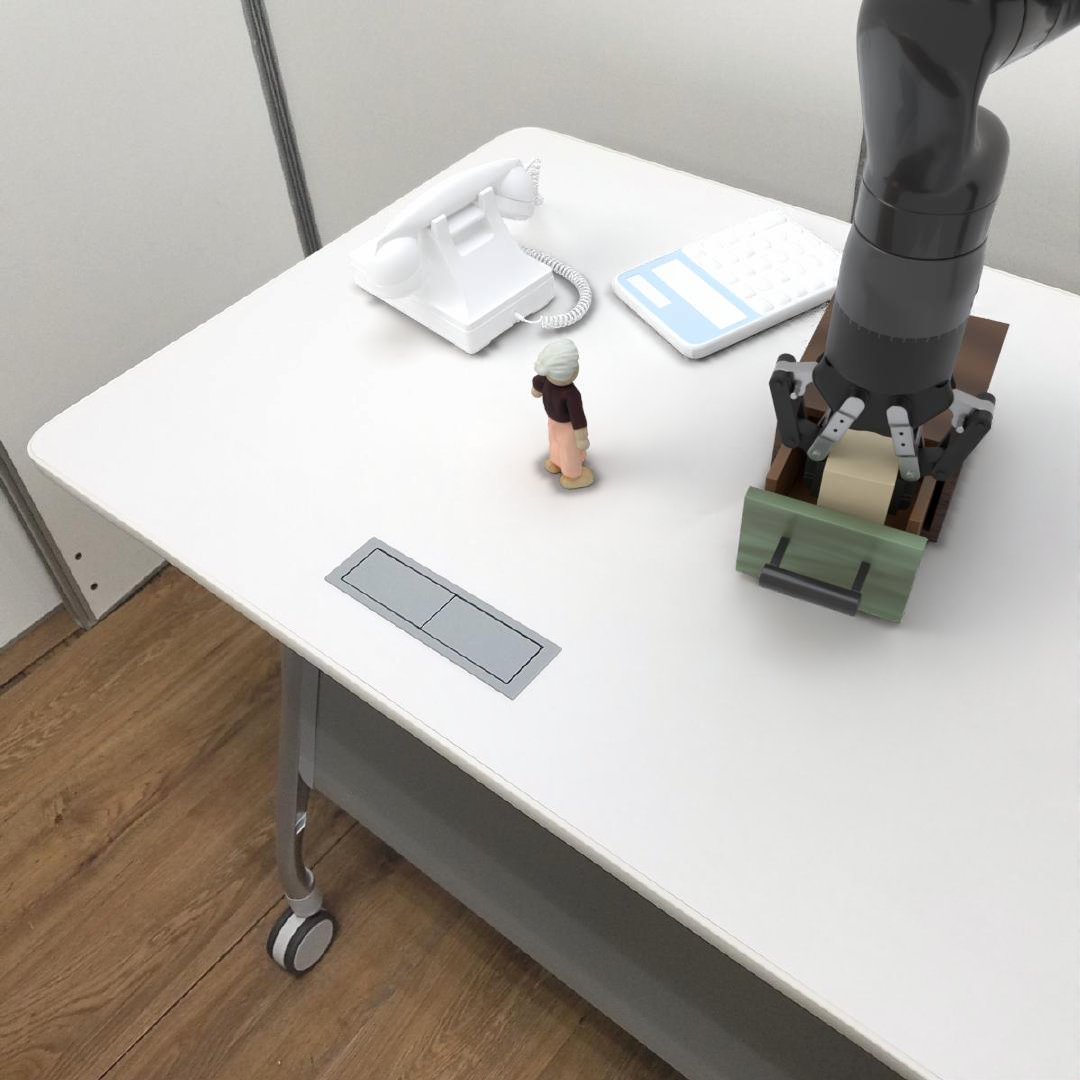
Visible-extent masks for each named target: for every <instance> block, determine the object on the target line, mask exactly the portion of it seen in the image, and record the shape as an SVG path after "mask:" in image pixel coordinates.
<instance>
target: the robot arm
mask: <svg viewBox="0 0 1080 1080" xmlns="http://www.w3.org/2000/svg"><path fill="white" fill-rule="evenodd" d="M1079 26H1080V0H862V1H861V3H860V7H859V11H858V17H857V22H856V35H855V41H856V44H855V45H856V59H857V71H858V82H859V91H860V103H861V116H862V124H863V131H864V138H865V146H866V154H865V158H864V162H863V167H862V170H861V177H860V182H859V188H858V193H857V198H856V204H855V209H854V215H853V219H852V223H851V226H850V229H849V232H848V234H847V237H846V239H845V240H846V241H845V243H844V245H843V246H844V247H843V251H842V253H841V254H842V259H841V264H840V270H839V276H838V282H837V287H836V292H835V298H834V303H833V309H832V314H831V320H830V326H829V331H828V337H827V342H826V348H825V350H824V352H823V353H822V354H820V355H819V357H818V358H817V360H816V362H799V361H797V359H796V357H795V356H794V355H793V354H790V353H786V352H784V353H781V354H779V355H778V357H777V360H776V362H775V364H774V368H773V370H772V373H771V375H770V378H769V381H768V386H769V391H770V395H771V400H772V404H773V409H774V413H775V418H776V424H777V423H778V427H779V431H780V436H781V440H782V443H783V445H784V446H786V447H788V448H796V447H799V448H801V449H803V450H804V451H805V452H806V454H807V462H806V467H805V472H804V478H803V484H804V487H805V488H808V489H812V490H811V495H810V497H814V498H818V497H819V492H820V487H821V482H822V478H823V473H824V468H825V465H826V462H827V458H828V455H829V452H830V451H831V449H832V448H833V446H834V445H835V444H838V442H839V441H840V440H841V438H842V437H843V436H844V434H845V433H846V431H847V430H848V429H852V430H856V431H872V432H874V433H877V434H879V435H882V436H885V437H890V438H892V441H893V447H894V453H895V456H896V457H898V463H899V469H898V474H897V478H896V482H895V486H894V490H893V493H892V497H891V500H890V504H889V508H888V511H887V514H888V515H893V516H896V513H897V510H898V509H900V510H904V511H905V510H906V509H907V508H908V507H910V504H911V500H912V497H913V493H914V490H915V487H916V483H917V481H918V479H919V478H921V477H923V476H932V477H933V478H934V479H935V480H938V481H946V480H948V479H949V478H950V477H951V476H952V475H953V473H954V472H955V471H956V470H957V469H958V467H959V466H960V465H961V464H962V463H963V461H964V462H965V460H966V459H968V457H969V456H970V454H972V452H973V451H974V449H976V447H977V446H978V445H979V444H980V442H981V441H982V440H983V439H984V438H985V436H986V435H987V434H988V433H989V432H990V430H991V429H992V424H993V420H994V415H995V409H996V403H997V402H996V401H997V399H996V396H995V395H994V394H992V393H990V392H988V391H987V392H983V393H979V394H978V395H977V396H976V397H974V396H972V395H970V394H967V393H965V392H963V391H960V390H958V389H956V382H955V379H954V377H953V369H954V366H955V362H956V359H957V356H958V352H959V349H960V346H961V342H962V339H963V336H964V332H965V329H966V325H967V322H968V319H969V315H971V312H972V308H973V305H974V301H975V298H976V296H977V294H978V292H979V288H980V282H981V278H982V274H983V270H984V265H985V260H986V259H985V256H986V248H987V244H988V243H987V242H988V239H989V234H990V231H991V227H992V223H993V220H994V217H995V213H996V210H997V207H998V203H999V199H1000V197H1001V193H1002V190H1003V186H1004V183H1005V180H1006V179H1005V178H1006V175H1007V170H1008V168H1009V167H1008V166H1009V161H1010V157H1011V156H1010V154H1011V140H1010V135H1009V132H1008V129H1007V127H1006V125H1005V124H1004V123H1003V121H1002V120H1001V119H1000V117H999V116H998V115H997V114H996V113H994V112H993V111H992V110H990V109H988V108H986V107H984V106H983V105H981V104H979V103H980V98H981V95H982V92H983V89H984V87H985V85H986V82H987V80H988V79H989V76H990V75H992V74H994V73H996V72H998V71H1000V70H1002V69H1004V68H1006V67H1008V66H1009V65H1012V64H1014V63H1015V62H1017V61H1020V60H1021V59H1023V58H1025V57H1026V56H1028V55H1029V56H1030V55H1031V54H1032V53H1034V52H1037V51H1038V50H1040V49H1042V48H1044V47H1047V45H1049V44H1051V43H1053V42H1054V41H1056V40H1058V39H1059V38H1062V37H1063V36H1064V35H1066V34H1068V33H1070V32H1071V31H1073V30H1075V29H1076V28H1077V27H1079ZM811 382H813V383H814V384H815V386H816V388H817V389H818V391H819V392H820V394H821V395H822V397H823V398H824V400H825V401H826V403H827V404H828V406H829V407H828V409H827V411H826V413H825V414H824V416H823V417H822V418H821V420H820V421H819V423H818V424H817V425H816V424H814V423H812V422H810V421H808V417H807V412H806V407H805V402H804V397H803V395H804V393H805V391H806V389H807V386H808V384H809V383H811ZM947 409H949V410H950V411H951V412H952V413H953V415H952V419H951V424H952V427H951V429H950V430H949V431H948V432H947V434H946V435H945V436H944V437H943V439H942V440H941V441H940V442H939V444H938V445H937V447H925V443H924V436H923V424H924V423H926V422H928V421H929V420H931V419H933V418H934V417H936V416H937V415H939V414H941V413H942V412H944V411H946V410H947ZM963 464H964V463H963Z"/></svg>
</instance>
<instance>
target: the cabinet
mask: <svg viewBox="0 0 1080 1080" xmlns="http://www.w3.org/2000/svg"><path fill="white" fill-rule="evenodd" d="M835 292H836V290H835ZM835 292H834V294H833V296H832V298H831V300H829V301H828V304H827V306H826V308H825V310H824V312H823V314H822V315H821V318H820V320H819V322H818V323H817V326H816V328H815V330H814V331H813V334H812V336H811V338H810V340H809V342H808V344H807V345H806V348H805V350H804V352H803V353H802V356H801V358H800V359H799V361H798V362H816V360H817V358H818V357H819V355H820V354H822V353H823V352H824V350H825V348H826V342H827V337H828V331H829V326H830V320H831V314H832V309H833V303H834V298H835ZM1009 328H1010V323H1007V322H1003V321H998V320H994V319H990V318H986V317H981V316H976V315H973V314H970V315H969V319H968V322H967V325H966V329H965V332H964V336H963V339H962V342H961V346H960V349H959V352H958V356H957V359H956V362H955V366H954V369H953V377H954V379H955V382H956V389H958V390H960V391H963V392H965V393H967V394H970V395H972V396H974V397H976V396H977V395H978V394H979V393H983V392H987V393H988V391H989V388H990V386H991V382H992V379H993V376H994V373H995V370H996V367H997V364H998V361H999V358H1000V354H1001V352H1002V349H1003V346H1004V343H1005V340H1006V336H1007V334H1008V331H1009ZM803 397H804V402H805V407H806V412H807V415H809V416H813V417H816V418H820V419H821V418H822V417H823V416H824V414H825V413H826V411H827V409H828V407H829V406H828V404H827V403H826V401H825V400H824V398H823V397H822V395H821V394H820V392H819V391H818V389H817V388H816V386H815V384H814V383H813V382H811V383H809V384H808V386H807V389H806V391H805V393H804V395H803ZM952 415H953V413H952V412H951V411H950V410H949V409H947V410H946V411H944V412H942V413H941V414H939V415H937V416H936V417H934V418H933V419H931V420H929V421H928V422H926V423H924V424H923V436H924V443H925V447H937V445H938V444H939V442H940V441H941V440H942V439H943V437H944V436H945V435H946V434H947V432H948V431H949V430H950V429H951V427H952V424H951V419H952ZM869 432H872V431H869ZM773 440H774V441H773V446H772V453H771V460H770V466H769V469H770V468H771V466H772V464H773V462H774V460H775V458H776V456H777V454H778V452H779V450H780V448H781V446H782V444H783V443H782V440H781V436H780V431H779V427H778V423H777V422H776V425H775V433H774V439H773ZM964 463H965V460H964V461H963V463H962V464H961V465H960V466H959V467H958V469H957V470H956V471H955V472H954V473H953V475H952V476H951V477H950V478H949V479H948V480H946V481H938V483H937V487H936V490H935V492H934V495H933V498H932V501H931V504H930V507H929V510H928V512H927V515H926V518H925V521H924V524H923V527H922V530H921V532H920V535H919V536H922V537H926V538H927V541H932V542H936V543H937V542H938V541H939V537H940V535H941V532H942V529H943V526H944V523H945V519H946V516H947V514H948V511H949V508H950V505H951V502H952V499H953V496H954V493H955V491H956V488H957V484H958V482H959V481H958V480H959V478H960V476H961V472H962V469H963V466H964Z"/></svg>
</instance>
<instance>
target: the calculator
mask: <svg viewBox="0 0 1080 1080" xmlns="http://www.w3.org/2000/svg"><path fill="white" fill-rule="evenodd" d="M842 254H843V253H841V252H840V251H838V250H837V249H835V248H834V247H832V246H831V245H830V244H828V243H827V242H825V241H824V240H823V239H821V238H819V237H818V236H817V235H816V234H814V233H813V232H811V231H809V230H808V229H806V228H805V227H804V226H802V225H801V224H799V223H798V222H797V221H795V220H794V219H793V218H791V217H790V216H789V215H786V214H785V213H783V212H782V211H779V210H769V211H765V212H763V213H760V214H757V215H755V216H753V217H750V218H747V219H746V220H743V221H740V222H739V223H736V224H734V225H731V226H729V227H726V228H724V229H722V230H719V231H716V232H714V233H712V234H709V235H707V236H704V237H702V238H700V239H697V240H695V241H693V242H690V243H687V244H685V245H682V246H680V247H678V248H676V249H673V250H671V251H668V252H666V253H663V254H661V255H659V256H656V257H654V258H652V259H649V260H647V261H644V262H641V263H639V264H636V265H634V266H632V267H630V268H628V269H625V270H623V271H621V272H619V273H617V274H616V275H615V276H614V277H613V278H612V282H611V283H612V285H611V286H612V290H613V292H614V293H615V295H616V296H617V297H618V298H619V299H620V300H621V301H622V302H623V303H624V304H626V305H627V306H628V307H629V308H630V309H631V310H632V311H634V312H635V313H636V314H637V315H638V316H639V317H640V318H641V319H642V320H643V321H644V322H646V323H647V324H648V325H649V326H650V327H651V328H652V329H654V330H655V331H656V332H657V333H658V334H659V335H660V336H661V337H662V338H663V339H665V340H666V341H667V342H668V343H669V344H670V345H672V346H673V347H674V348H675V349H676V350H677V352H680V353H681V354H682V355H683V356H685V357H687V358H689V359H692V360H697V359H702V358H704V357H707V356H710V355H712V354H714V353H717V352H719V351H721V350H723V349H725V348H727V347H730V346H732V345H734V344H736V343H739V342H741V341H743V340H745V339H747V338H750V337H752V336H754V335H756V334H758V333H761V332H762V331H765V330H767V329H769V328H771V327H775V325H778V324H780V323H782V322H785V321H787V320H789V319H791V318H794V317H795V316H798V315H800V314H803V313H805V312H807V311H809V310H811V309H814V308H815V307H818V306H819V305H822V304H825V303H826V302H830V300H831V298H832V296H833V294H834V292H835V290H836V287H837V282H838V276H839V270H840V264H841V259H842Z"/></svg>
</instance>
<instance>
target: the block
mask: <svg viewBox="0 0 1080 1080" xmlns="http://www.w3.org/2000/svg"><path fill="white" fill-rule="evenodd" d="M898 469H899V463H898V457H896V456H895V453H894V447H893V441H892V438H890V437H885V436H882V435H879V434H877V433H874V432H869V431H856V430H852V429H848V430H847V431H846V433H845V434H844V436H843V437H842V438H841V440H840V441H839V442H838V444H835V445H834V446H833V448H832V449H831V451H830V452H829V455H828V458H827V462H826V465H825V468H824V473H823V478H822V482H821V487H820V492H819V497H818V502H817V506H821V507H824V508H827V509H831V510H834V511H838V512H841V513H844V514H848V515H851V516H854V517H858V518H861V519H865V520H868V521H871V522H875V523H878V524H882V525H884V522H885V518H886V515H887V511H888V508H889V504H890V500H891V497H892V493H893V490H894V486H895V482H896V478H897V474H898Z"/></svg>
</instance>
